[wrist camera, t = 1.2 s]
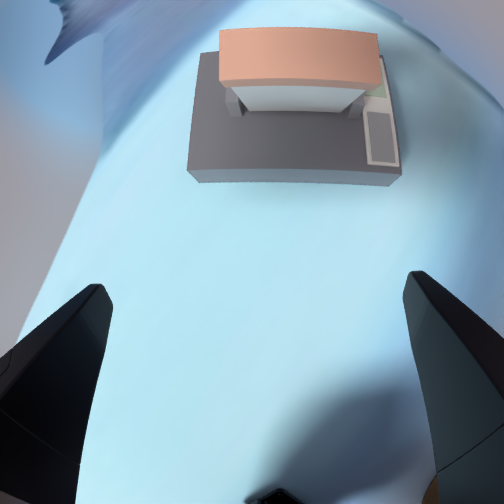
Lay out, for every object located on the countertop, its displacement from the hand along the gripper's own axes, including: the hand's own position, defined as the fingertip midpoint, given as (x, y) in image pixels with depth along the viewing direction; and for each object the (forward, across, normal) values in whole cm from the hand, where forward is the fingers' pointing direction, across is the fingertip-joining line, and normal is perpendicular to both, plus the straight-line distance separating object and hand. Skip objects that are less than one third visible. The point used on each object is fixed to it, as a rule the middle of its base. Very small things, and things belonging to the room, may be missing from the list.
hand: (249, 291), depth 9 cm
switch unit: (+18, -2, 0) cm, 18 cm away
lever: (+16, -2, -2) cm, 16 cm away
